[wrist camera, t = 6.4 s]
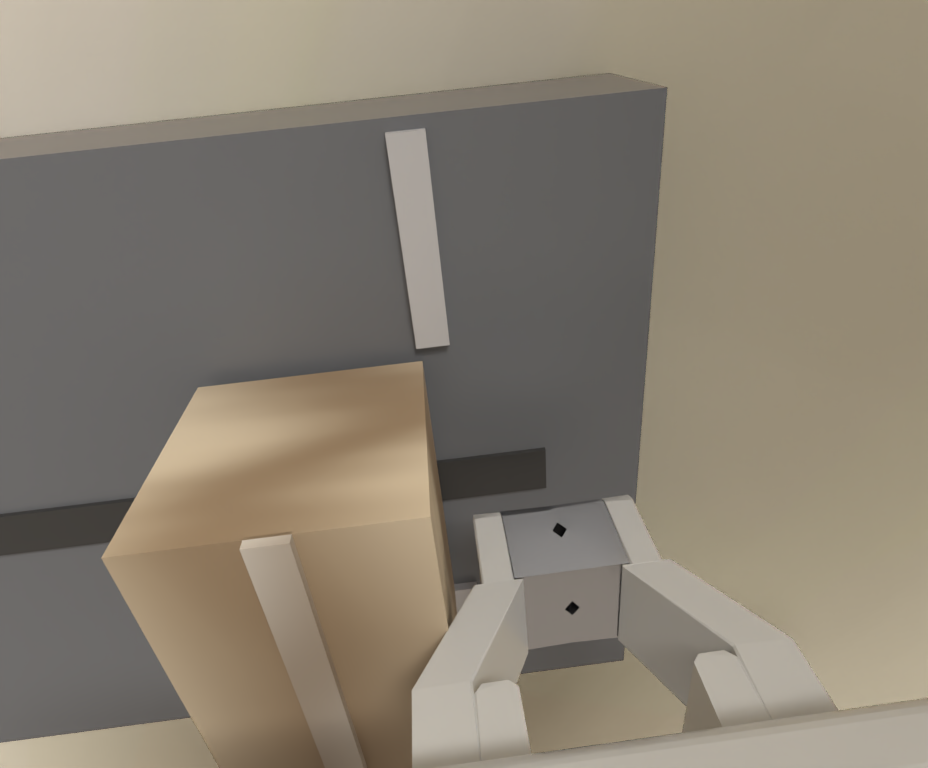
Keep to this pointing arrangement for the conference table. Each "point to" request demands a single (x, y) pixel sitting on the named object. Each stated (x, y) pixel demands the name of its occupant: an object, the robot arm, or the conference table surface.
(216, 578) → the fader tab
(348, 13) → the conference table surface
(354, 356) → the fader console
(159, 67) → the conference table surface
